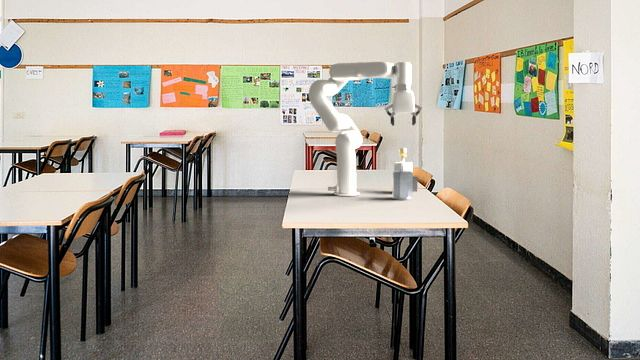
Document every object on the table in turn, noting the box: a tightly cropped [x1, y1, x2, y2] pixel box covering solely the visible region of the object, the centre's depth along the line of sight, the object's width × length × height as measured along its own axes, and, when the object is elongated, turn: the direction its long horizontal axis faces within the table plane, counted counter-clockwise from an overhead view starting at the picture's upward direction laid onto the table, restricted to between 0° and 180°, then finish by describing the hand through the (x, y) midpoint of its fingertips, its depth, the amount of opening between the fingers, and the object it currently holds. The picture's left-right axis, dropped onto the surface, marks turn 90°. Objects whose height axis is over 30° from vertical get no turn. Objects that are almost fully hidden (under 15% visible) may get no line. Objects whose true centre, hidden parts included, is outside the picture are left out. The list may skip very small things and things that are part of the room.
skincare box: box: [393, 161, 413, 172], centre depth 318 cm, size 8×7×16 cm
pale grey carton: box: [392, 170, 419, 201], centre depth 299 cm, size 12×9×13 cm
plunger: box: [398, 147, 408, 172], centre depth 298 cm, size 6×6×16 cm
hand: (403, 125), depth 297 cm, fingers open, 9 cm apart
